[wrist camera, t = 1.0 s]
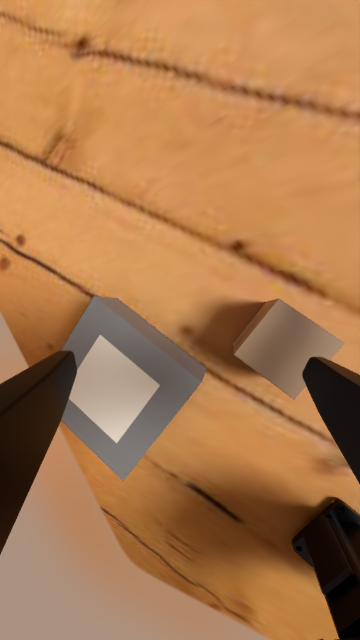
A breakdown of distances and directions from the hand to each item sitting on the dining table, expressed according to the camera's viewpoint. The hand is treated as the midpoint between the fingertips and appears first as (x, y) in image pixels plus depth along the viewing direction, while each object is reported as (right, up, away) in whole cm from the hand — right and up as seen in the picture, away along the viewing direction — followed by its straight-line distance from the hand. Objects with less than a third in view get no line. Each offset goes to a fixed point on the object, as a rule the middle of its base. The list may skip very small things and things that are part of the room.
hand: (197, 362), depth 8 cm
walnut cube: (+8, 0, +11) cm, 14 cm away
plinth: (-6, -4, +14) cm, 16 cm away
